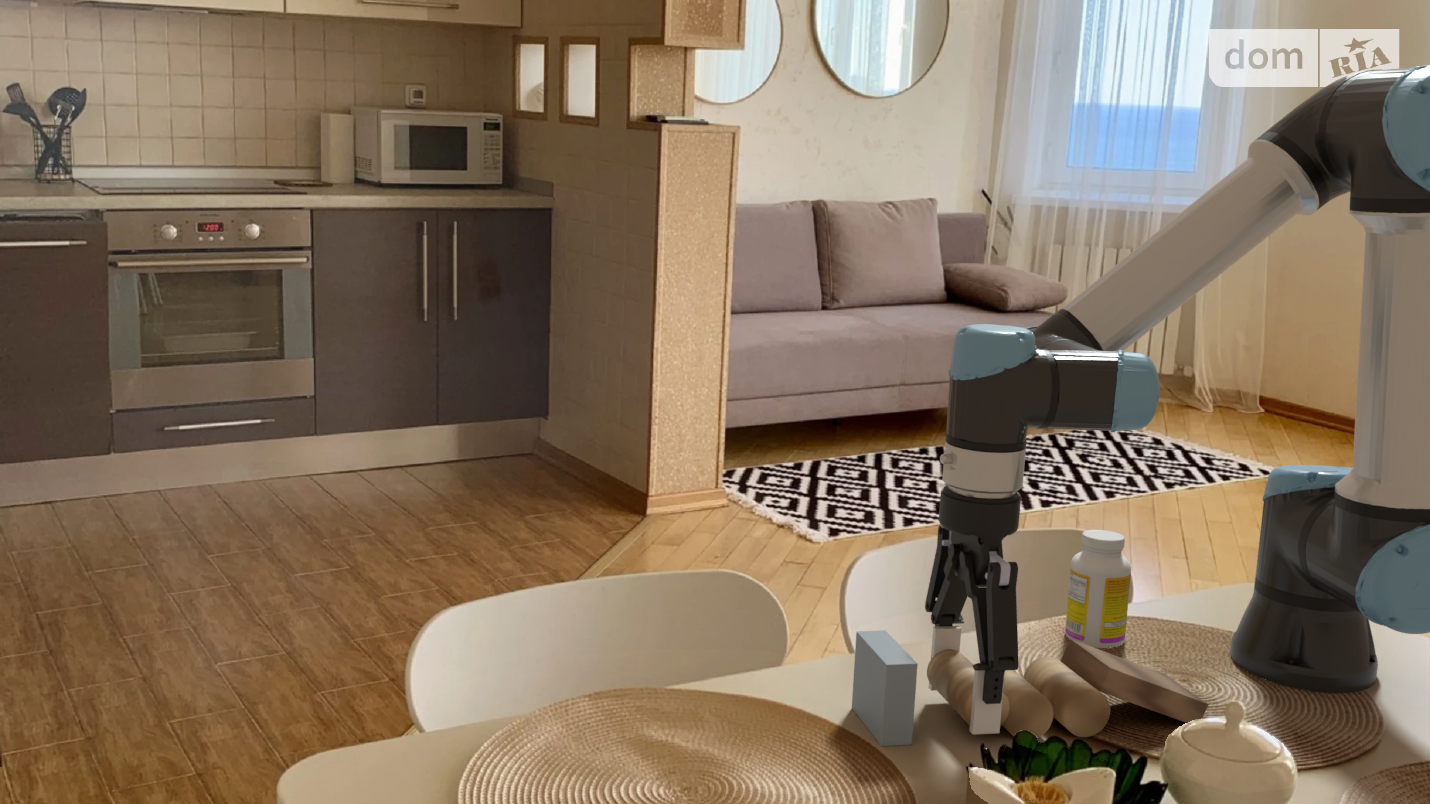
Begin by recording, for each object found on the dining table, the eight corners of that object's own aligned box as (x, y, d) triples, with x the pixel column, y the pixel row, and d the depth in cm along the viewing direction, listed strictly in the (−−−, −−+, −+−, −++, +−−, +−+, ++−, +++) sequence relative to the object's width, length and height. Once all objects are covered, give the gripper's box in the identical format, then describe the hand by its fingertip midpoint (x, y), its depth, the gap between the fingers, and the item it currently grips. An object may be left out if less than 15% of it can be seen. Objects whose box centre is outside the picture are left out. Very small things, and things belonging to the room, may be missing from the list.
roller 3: (1074, 668, 144) (1050, 708, 144) (1038, 648, 143) (1014, 689, 143) (1119, 702, 135) (1093, 744, 136) (1081, 682, 134) (1055, 725, 134)
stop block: (880, 706, 140) (885, 630, 139) (911, 744, 132) (917, 663, 130) (851, 708, 140) (856, 631, 138) (881, 746, 131) (886, 664, 130)
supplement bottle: (1128, 639, 163) (1138, 532, 161) (1119, 657, 157) (1129, 546, 155) (1070, 629, 166) (1079, 523, 164) (1058, 646, 160) (1068, 537, 158)
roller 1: (922, 687, 142) (932, 646, 141) (961, 692, 143) (972, 652, 142) (961, 729, 132) (972, 685, 131) (1003, 734, 133) (1014, 691, 133)
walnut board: (1154, 695, 146) (1164, 673, 146) (1198, 726, 139) (1208, 704, 139) (1060, 661, 143) (1070, 638, 143) (1099, 691, 135) (1110, 667, 135)
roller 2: (993, 649, 142) (1022, 679, 143) (959, 683, 142) (988, 713, 143) (1032, 683, 133) (1062, 715, 134) (997, 719, 133) (1027, 750, 134)
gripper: (903, 461, 143) (887, 668, 147) (992, 520, 122) (971, 761, 126) (971, 461, 145) (954, 665, 149) (1072, 519, 123) (1049, 757, 127)
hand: (962, 709), depth 137 cm, fingers closed on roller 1, 10 cm apart
